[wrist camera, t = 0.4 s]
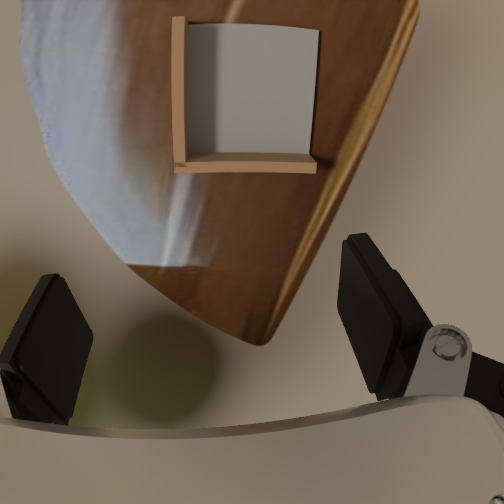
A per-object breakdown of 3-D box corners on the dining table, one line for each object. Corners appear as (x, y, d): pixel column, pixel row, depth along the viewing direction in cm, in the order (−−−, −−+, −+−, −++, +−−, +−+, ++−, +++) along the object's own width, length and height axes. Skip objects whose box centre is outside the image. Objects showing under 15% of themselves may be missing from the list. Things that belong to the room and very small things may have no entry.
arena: (177, 21, 27) (172, 16, 24) (317, 26, 29) (328, 23, 25) (178, 161, 36) (174, 173, 33) (306, 162, 38) (315, 173, 35)
